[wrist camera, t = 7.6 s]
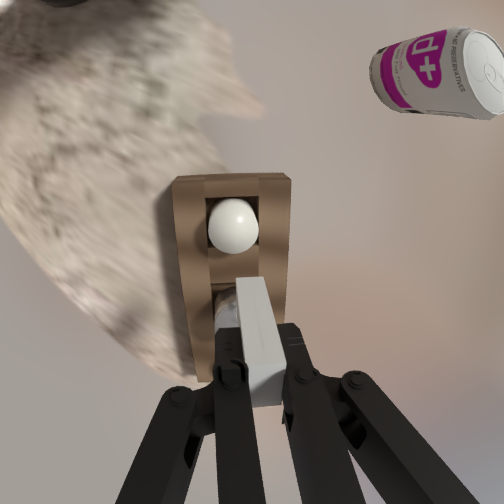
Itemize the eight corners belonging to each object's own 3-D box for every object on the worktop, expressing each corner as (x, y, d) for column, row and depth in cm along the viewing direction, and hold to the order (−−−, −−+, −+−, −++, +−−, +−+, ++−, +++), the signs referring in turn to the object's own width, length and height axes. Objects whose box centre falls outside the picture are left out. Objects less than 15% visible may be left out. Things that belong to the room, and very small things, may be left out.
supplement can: (358, 93, 27) (449, 84, 14) (376, 35, 24) (463, 4, 11) (412, 124, 29) (507, 140, 16) (428, 69, 26) (520, 64, 12)
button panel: (177, 176, 30) (171, 183, 26) (282, 172, 30) (291, 179, 27) (198, 361, 40) (198, 382, 37) (274, 357, 41) (279, 377, 38)
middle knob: (213, 287, 30) (212, 313, 26) (256, 285, 31) (261, 310, 27) (216, 321, 32) (216, 348, 28) (255, 318, 33) (260, 345, 29)
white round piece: (208, 195, 29) (206, 207, 25) (253, 193, 29) (258, 205, 25) (211, 236, 31) (209, 254, 27) (253, 234, 31) (258, 252, 27)
